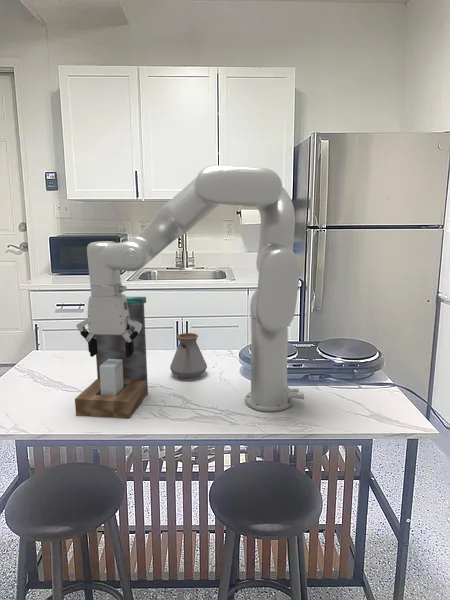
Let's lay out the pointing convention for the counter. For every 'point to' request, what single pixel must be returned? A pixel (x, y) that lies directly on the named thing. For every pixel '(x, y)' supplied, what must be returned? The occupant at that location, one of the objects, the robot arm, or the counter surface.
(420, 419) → the counter surface
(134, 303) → the socket station
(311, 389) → the counter surface
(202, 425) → the counter surface
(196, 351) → the coffee pot
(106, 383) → the skincare box
